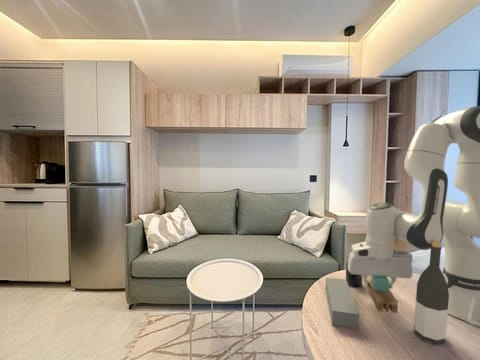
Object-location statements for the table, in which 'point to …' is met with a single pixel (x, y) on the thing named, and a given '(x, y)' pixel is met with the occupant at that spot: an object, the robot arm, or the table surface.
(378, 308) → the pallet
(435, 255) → the wine bottle
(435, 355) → the table surface
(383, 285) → the mint green cube
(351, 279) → the supplement bottle
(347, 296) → the dock
